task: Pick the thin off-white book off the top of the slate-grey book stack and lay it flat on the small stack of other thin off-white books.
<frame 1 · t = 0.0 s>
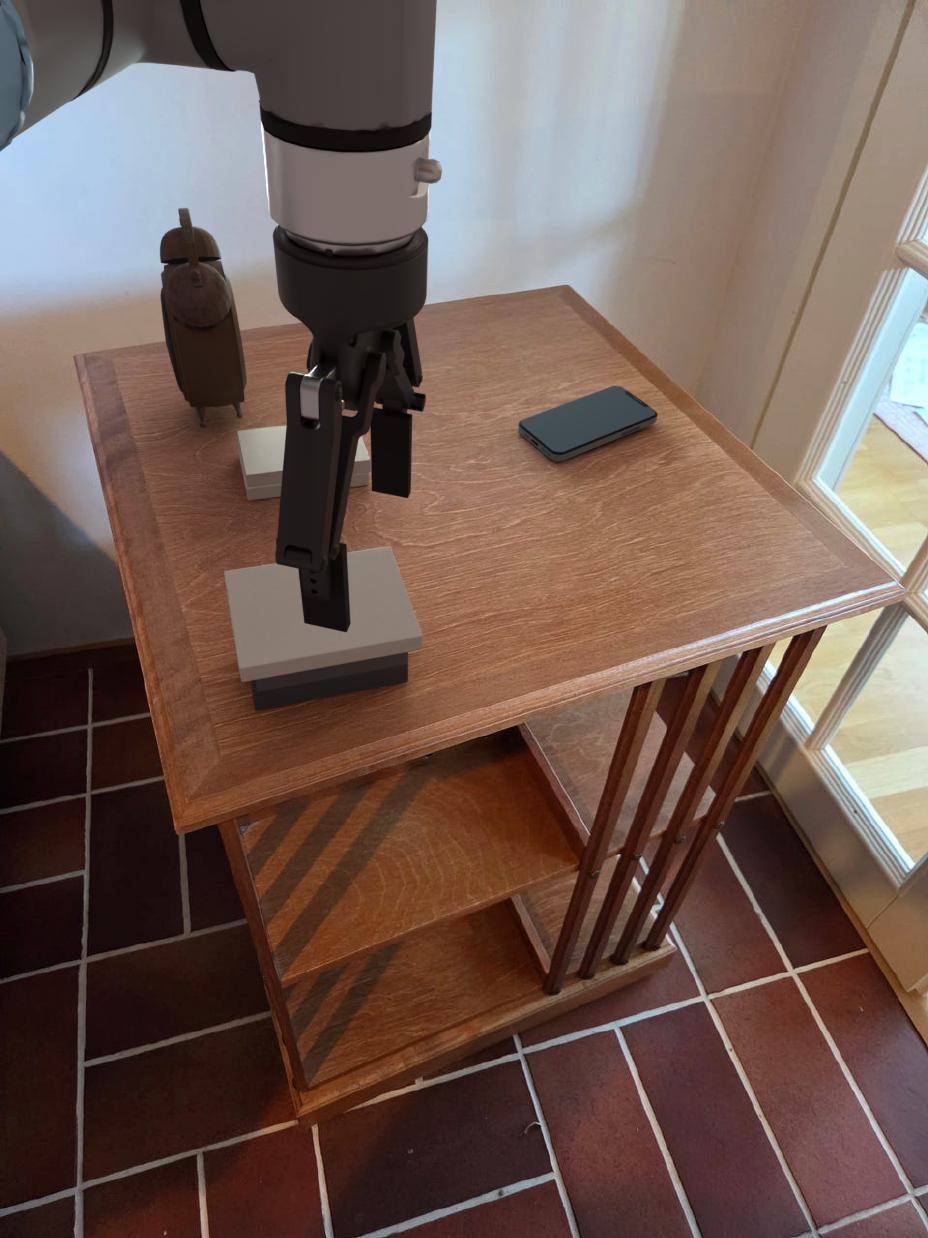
hand: (362, 552, 55), 14 cm above the table, tool pointing down, fingers open, 13 cm apart
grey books: (326, 667, 67), on the table
white book: (321, 616, 62), point 6 cm above the table, touching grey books
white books: (303, 470, 84), on the table
alarm clock: (214, 406, 92), on the table
smartphone: (586, 430, 93), on the table
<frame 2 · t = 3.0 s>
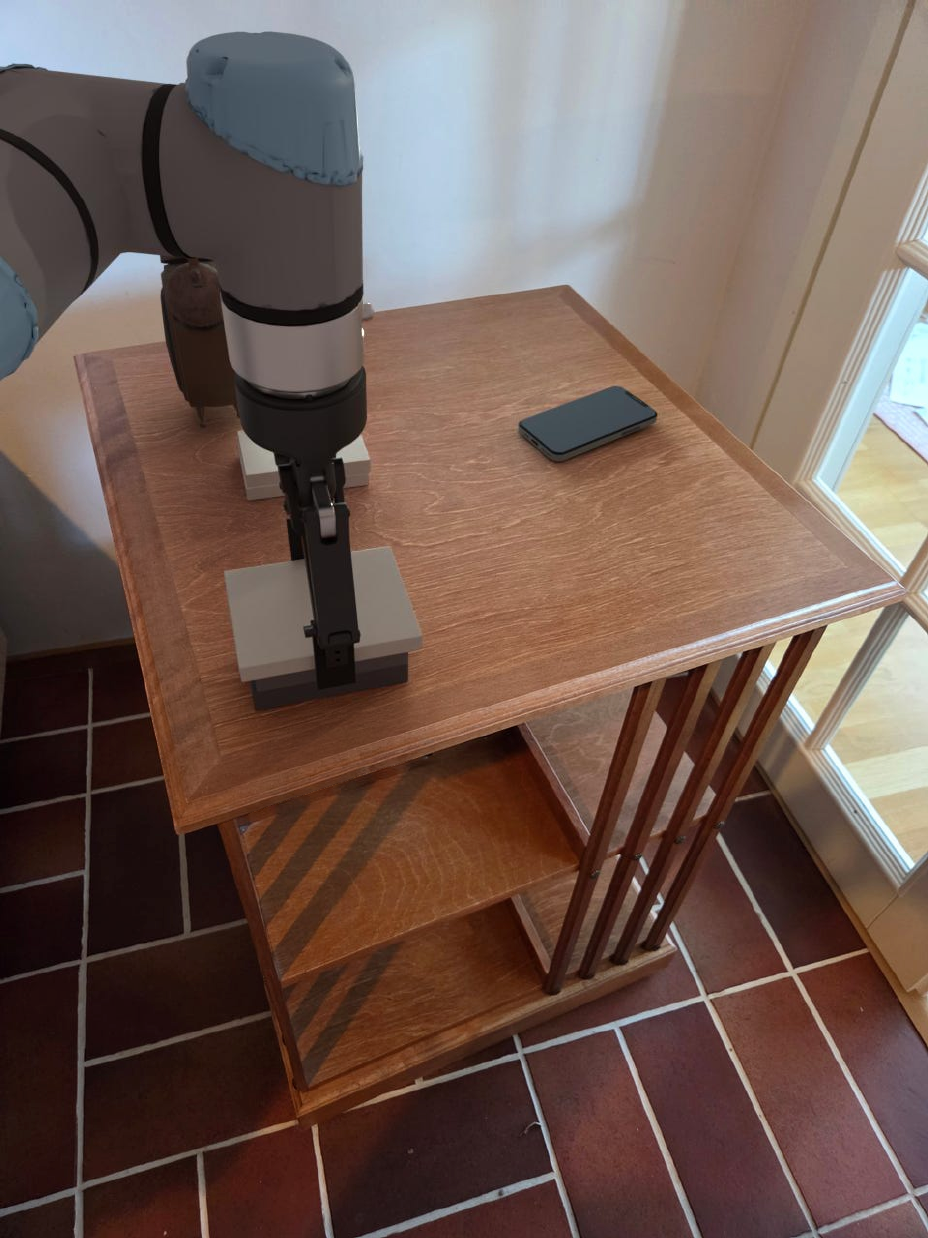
hand: (323, 629, 64), 5 cm above the table, tool pointing down, fingers closed on white book, 10 cm apart
white book: (321, 616, 62), point 6 cm above the table, touching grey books, gripper
everything else where it was.
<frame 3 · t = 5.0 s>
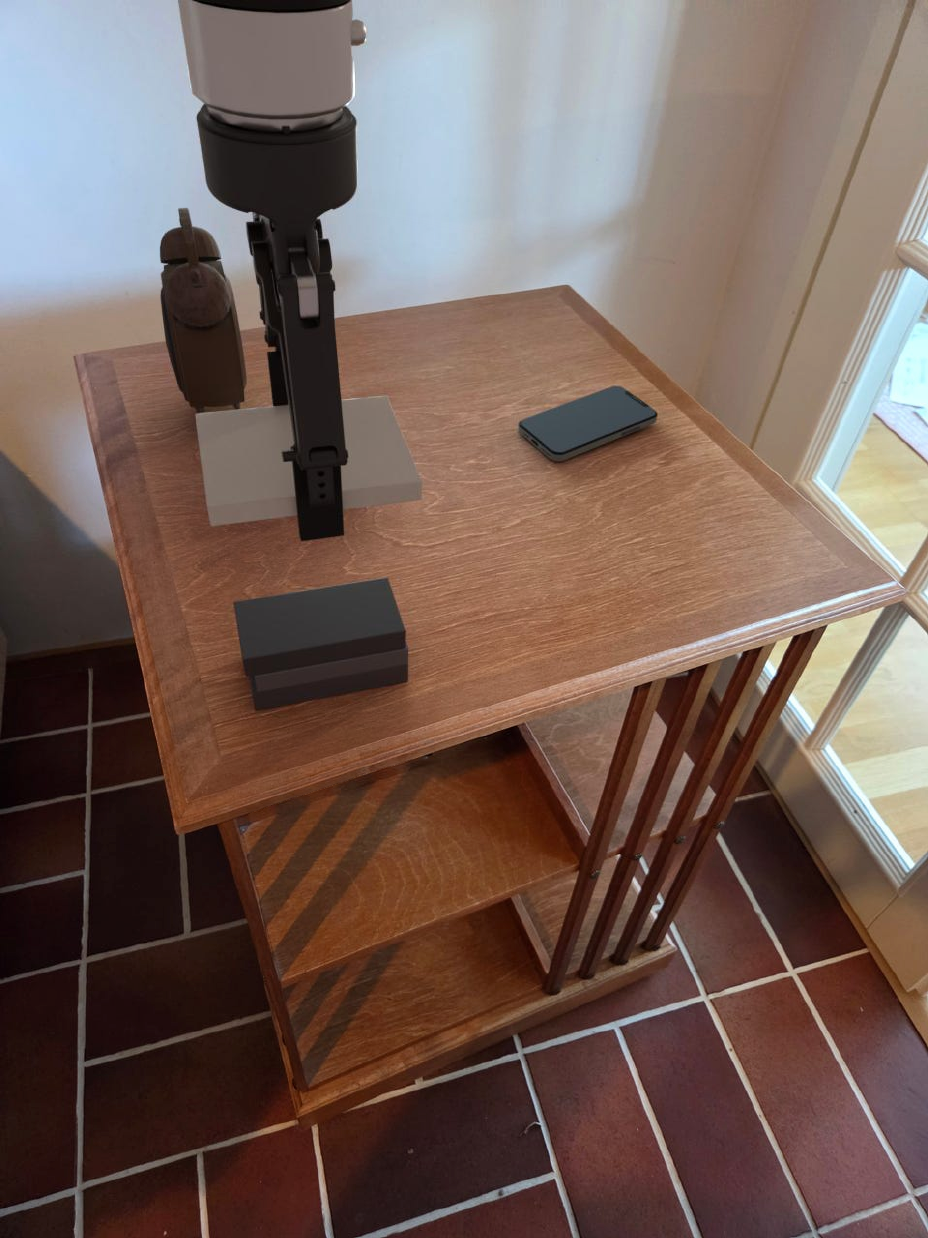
hand: (308, 482, 55), 17 cm above the table, tool pointing down, fingers closed on white book, 10 cm apart
white book: (306, 465, 54), point 19 cm above the table, touching gripper
everything else where it was.
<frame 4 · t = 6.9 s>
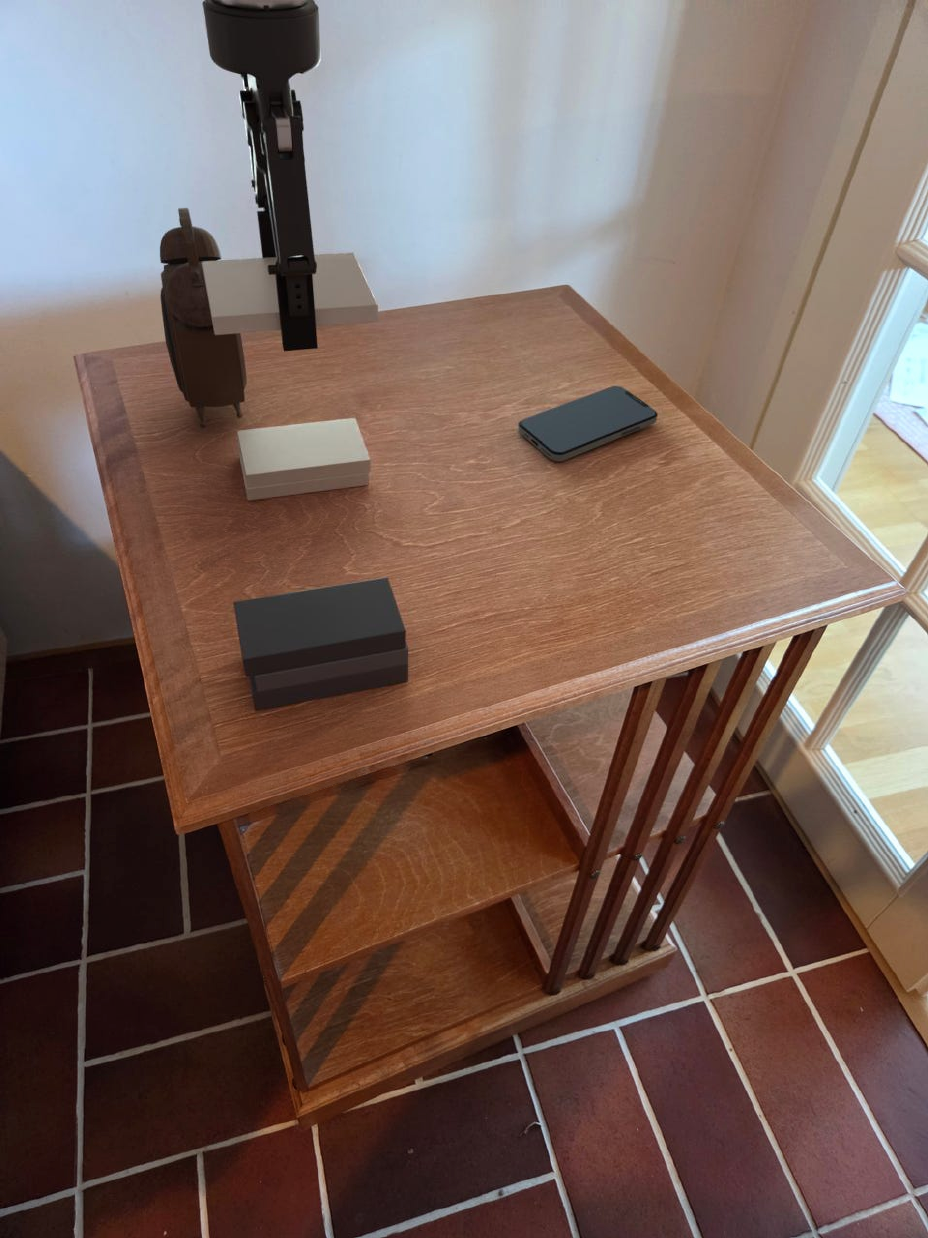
hand: (290, 316, 71), 17 cm above the table, tool pointing down, fingers closed on white book, 10 cm apart
white book: (289, 299, 70), point 19 cm above the table, touching gripper
everything else where it was.
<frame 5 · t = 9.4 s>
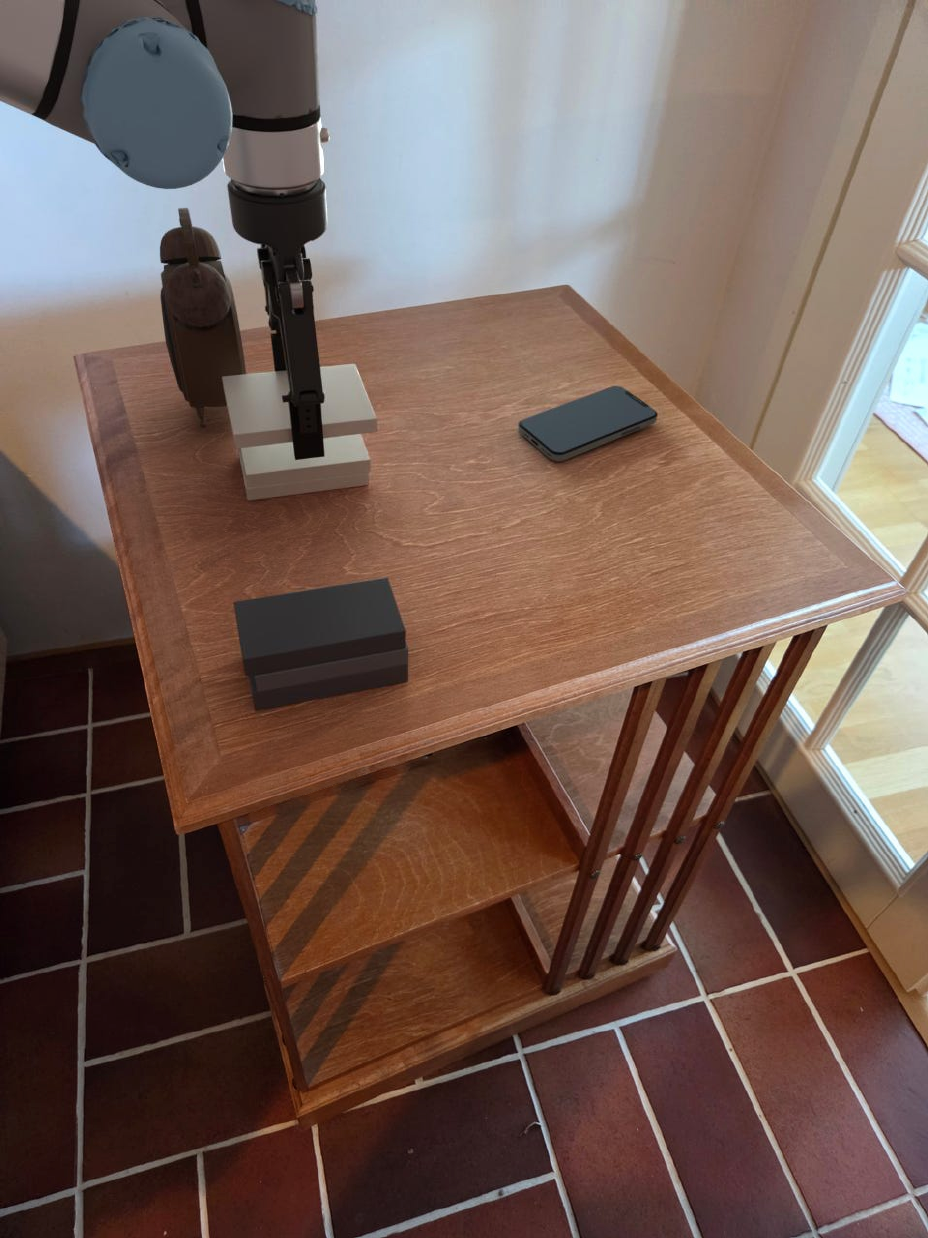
hand: (300, 423, 80), 6 cm above the table, tool pointing down, fingers closed on white book, 10 cm apart
white book: (299, 410, 79), point 7 cm above the table, touching gripper
everything else where it was.
when the fingers open (1 cm above the table, at t = 11.0 s): white book stays where it is, resting on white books.
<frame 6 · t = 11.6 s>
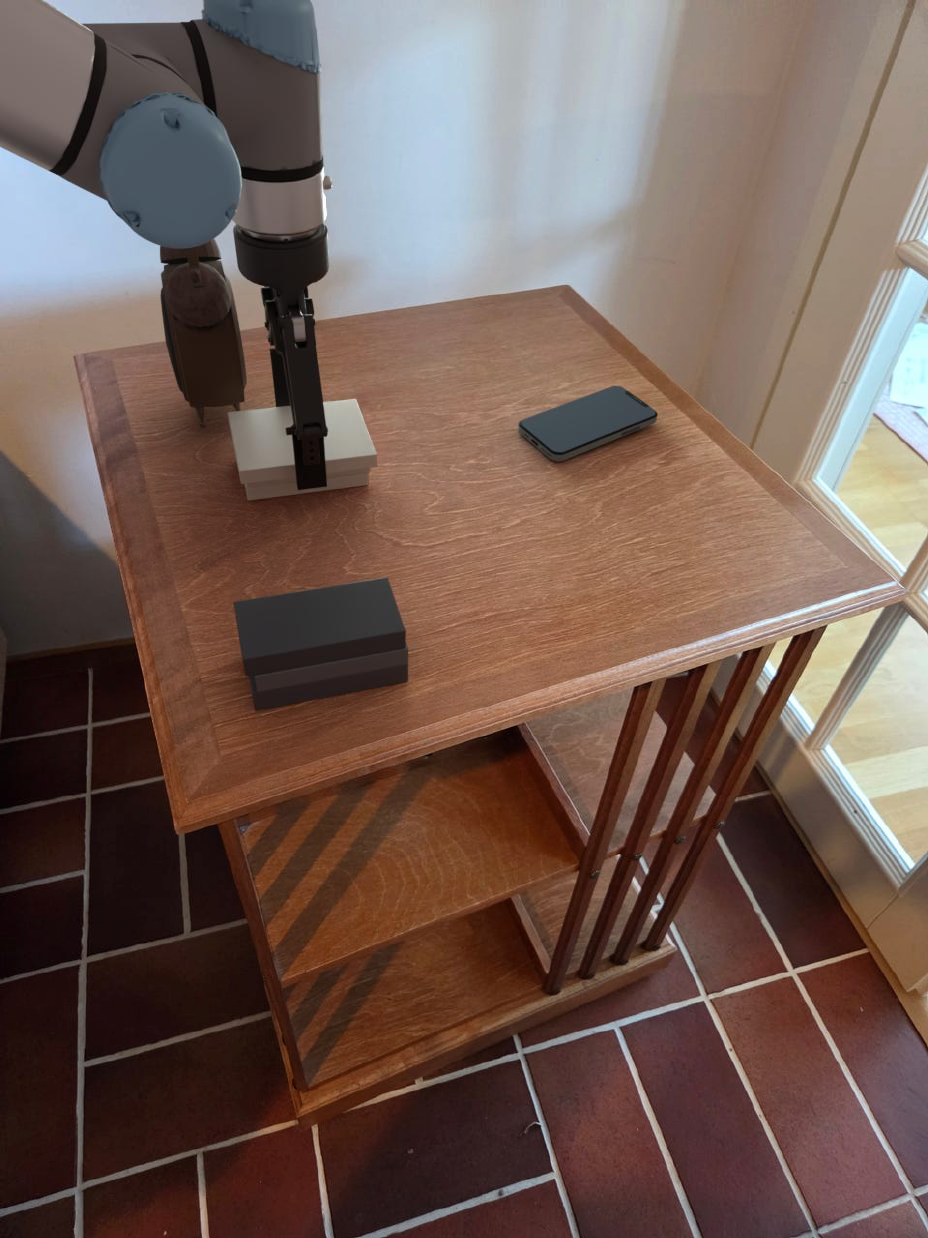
hand: (300, 444, 82), 3 cm above the table, tool pointing down, fingers open, 13 cm apart
white book: (302, 445, 82), point 3 cm above the table, touching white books
everything else where it was.
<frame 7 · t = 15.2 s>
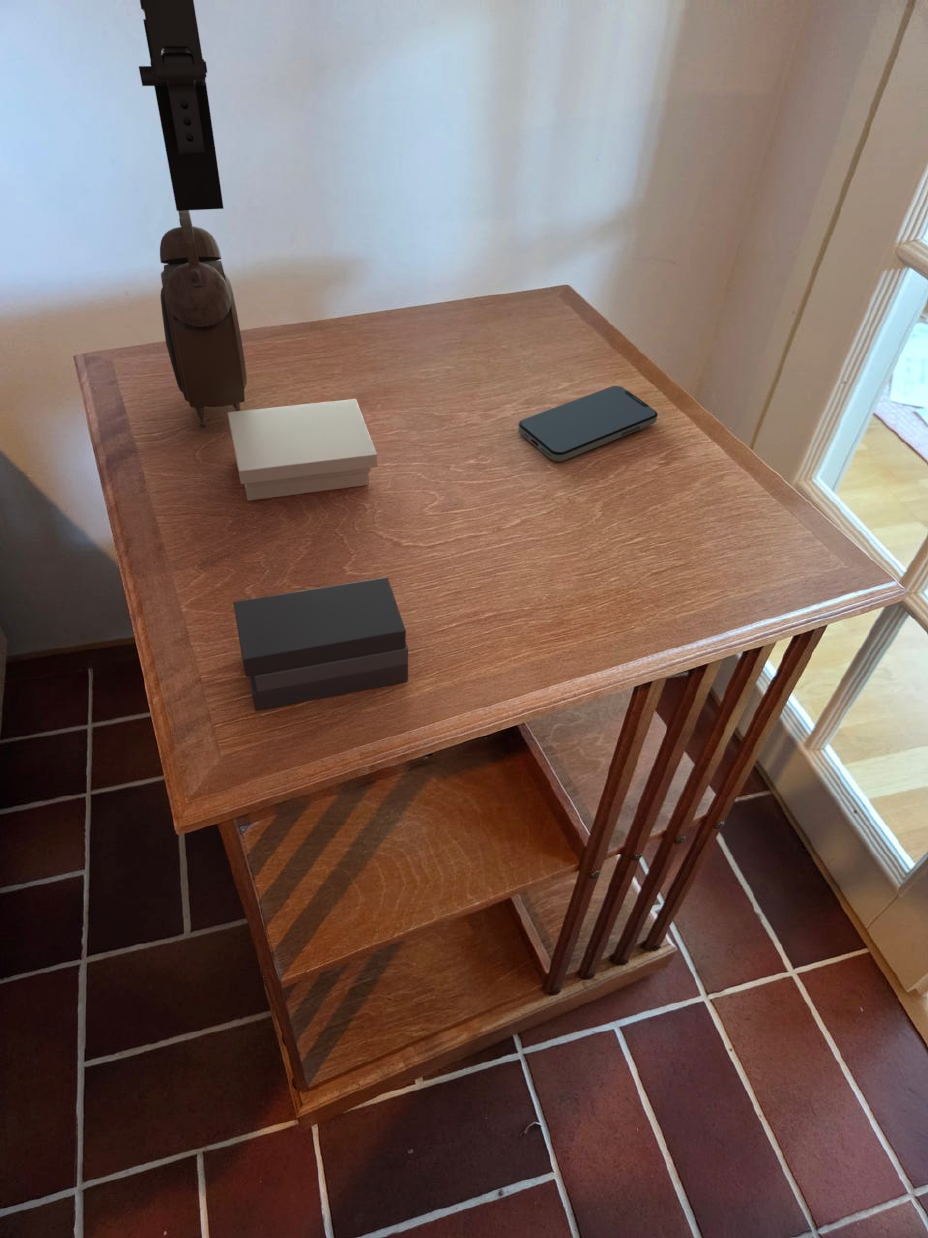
hand: (191, 167, 54), 32 cm above the table, tool pointing down, fingers open, 13 cm apart
nothing on the table moved.
at the end: white book 0.1 cm off-centre on the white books, point 3.0 cm above the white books's base; white book tilted 0° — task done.
